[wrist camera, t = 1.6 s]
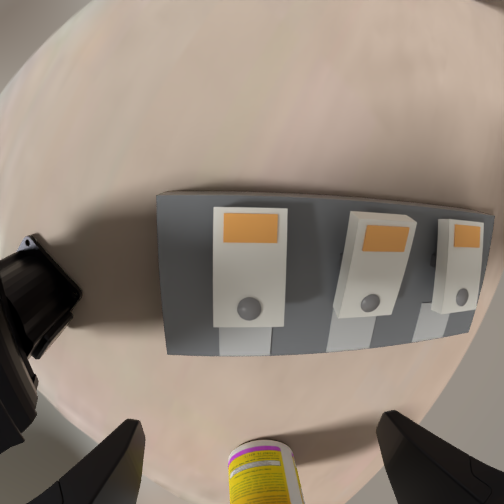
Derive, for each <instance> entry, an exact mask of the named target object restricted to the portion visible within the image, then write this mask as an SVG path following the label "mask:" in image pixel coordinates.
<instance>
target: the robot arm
mask: <svg viewBox="0 0 504 504" xmlns="http://www.w3.org/2000/svg"><path fill="white" fill-rule="evenodd" d="M28 240H29V242H30V244H29V243H28ZM74 292H76V293H77V296H76V295H75V294H74ZM81 297H82V291H81V289H80V288H79V287H78V286H77V285H76V284H75V283H74V282H73V281H72V280H71V279H70V278H69V277H68V276H67V275H66V274H65V273H64V271H63V270H62V269H61V268H60V267H59V266H58V265H57V264H56V263H55V262H54V261H53V259H52V258H51V257H50V256H49V255H48V254H47V253H46V252H45V250H44V249H43V248H42V247H41V246H40V245H39V244H38V242H37V241H36V240H35V239H34V238H33V237H32V236H31V235H29V236H26V237H25V238H24V239H23V241H22V242H21V244H20V246H19V248H18V250H17V252H16V253H13V254H12V255H10V256H8V257H6V258H4V259H2V260H0V454H1V453H2V452H4V451H5V450H7V449H9V448H10V447H12V446H15V445H18V444H20V443H23V442H24V441H25V439H24V437H23V436H22V433H23V432H24V431H25V430H26V429H27V428H28V427H29V426H30V425H31V424H32V422H33V421H34V419H35V417H36V416H37V412H36V410H35V408H36V404H37V399H38V396H37V392H36V390H37V386H38V382H39V381H38V378H37V376H36V374H34V373H33V370H32V368H31V366H30V363H29V361H28V359H29V358H30V357H31V356H33V357H34V358H35V359H40V358H41V356H42V355H43V354H44V353H45V352H46V351H47V349H48V348H49V347H50V346H51V345H52V343H53V342H54V341H55V340H56V339H57V338H58V337H59V335H60V334H61V333H62V332H63V330H64V329H65V327H66V326H67V325H68V323H69V322H70V321H71V319H72V318H73V314H72V313H71V310H72V309H73V308H74V306H75V305H76V304H77V302H78V301H79V300H80V298H81ZM376 434H377V438H378V442H379V446H380V450H381V454H382V458H383V462H384V466H385V469H386V472H387V475H388V478H389V480H390V483H391V486H392V488H393V491H394V494H395V497H396V499H397V502H398V504H504V472H502V471H500V470H497V469H495V468H493V467H491V466H488V465H486V464H485V463H483V462H481V461H479V460H477V459H475V458H473V457H472V456H469V455H468V454H466V453H465V452H463V451H461V450H460V449H457V448H456V447H454V446H452V445H451V444H449V443H448V442H446V441H444V440H443V439H441V438H439V437H438V436H436V435H434V434H433V433H431V432H430V431H428V430H426V429H425V428H423V427H421V426H420V425H418V424H417V423H415V422H413V421H412V420H410V419H409V418H407V417H406V416H404V415H402V414H401V413H399V412H398V411H396V410H391V411H387V412H384V413H383V414H382V417H381V419H380V421H379V424H378V426H377V429H376ZM144 449H145V435H144V431H143V428H142V425H141V422H140V421H139V420H135V419H126V420H125V421H124V422H123V423H122V424H121V425H120V426H118V427H117V428H116V429H115V430H114V431H113V432H112V433H111V434H110V435H109V436H107V437H106V438H105V439H104V440H103V441H102V442H101V443H100V444H99V445H98V446H96V447H95V448H94V449H93V450H92V451H91V452H90V453H89V454H88V455H86V456H85V457H84V458H83V459H82V460H81V461H80V462H78V463H77V464H76V465H75V466H74V467H73V468H72V469H71V470H69V471H68V472H67V473H66V474H65V475H64V476H62V477H61V478H60V479H59V481H56V482H55V483H54V484H53V485H52V486H51V487H49V488H48V489H47V490H46V491H44V492H43V493H42V494H40V495H39V496H38V497H36V498H35V499H33V500H32V501H30V502H29V503H27V504H136V501H137V496H138V492H139V488H140V483H141V476H142V467H143V458H144Z"/></svg>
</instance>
